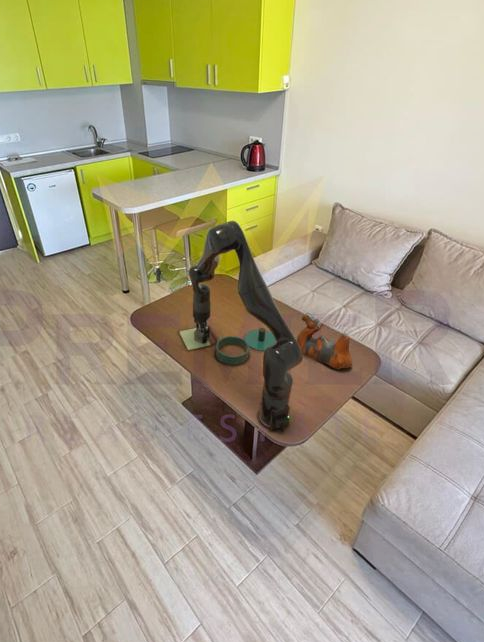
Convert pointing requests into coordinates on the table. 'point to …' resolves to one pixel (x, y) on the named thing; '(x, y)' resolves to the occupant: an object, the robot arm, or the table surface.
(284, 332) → the robot arm
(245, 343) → the pot
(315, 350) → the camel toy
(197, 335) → the dice cube
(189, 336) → the placemat
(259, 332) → the pot lid
